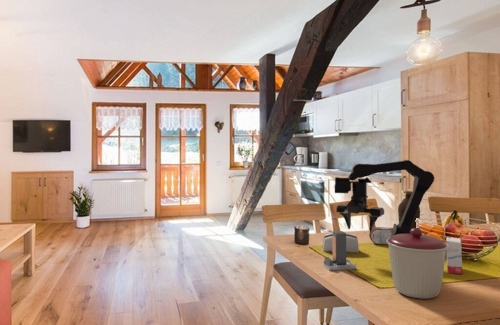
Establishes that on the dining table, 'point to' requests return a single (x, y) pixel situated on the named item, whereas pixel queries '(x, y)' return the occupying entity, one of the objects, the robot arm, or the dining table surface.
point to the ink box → (454, 255)
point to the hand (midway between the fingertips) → (359, 230)
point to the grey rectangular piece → (330, 266)
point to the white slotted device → (350, 243)
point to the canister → (417, 263)
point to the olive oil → (403, 206)
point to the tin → (380, 235)
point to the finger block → (339, 248)
